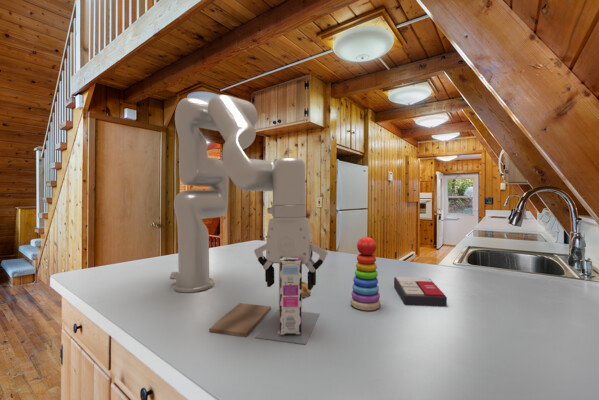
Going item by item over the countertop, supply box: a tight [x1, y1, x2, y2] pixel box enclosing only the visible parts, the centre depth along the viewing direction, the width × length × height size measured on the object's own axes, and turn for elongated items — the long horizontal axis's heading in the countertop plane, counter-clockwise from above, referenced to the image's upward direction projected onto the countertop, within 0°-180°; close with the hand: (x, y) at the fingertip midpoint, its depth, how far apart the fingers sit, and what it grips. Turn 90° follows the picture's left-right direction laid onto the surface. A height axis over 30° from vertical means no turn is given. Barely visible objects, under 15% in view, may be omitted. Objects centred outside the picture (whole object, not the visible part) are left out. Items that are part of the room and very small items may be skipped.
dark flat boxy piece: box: [393, 276, 448, 308], centre depth 86 cm, size 11×4×15 cm
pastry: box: [302, 280, 312, 299], centre depth 86 cm, size 9×7×4 cm
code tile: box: [254, 308, 320, 345], centre depth 68 cm, size 11×15×1 cm
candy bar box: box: [278, 257, 303, 335], centre depth 67 cm, size 11×5×16 cm, turn 5°
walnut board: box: [208, 302, 272, 338], centre depth 71 cm, size 9×15×1 cm, turn 165°
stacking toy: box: [349, 236, 381, 312], centre depth 79 cm, size 8×8×19 cm
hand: (290, 286), depth 67 cm, fingers open, 9 cm apart
